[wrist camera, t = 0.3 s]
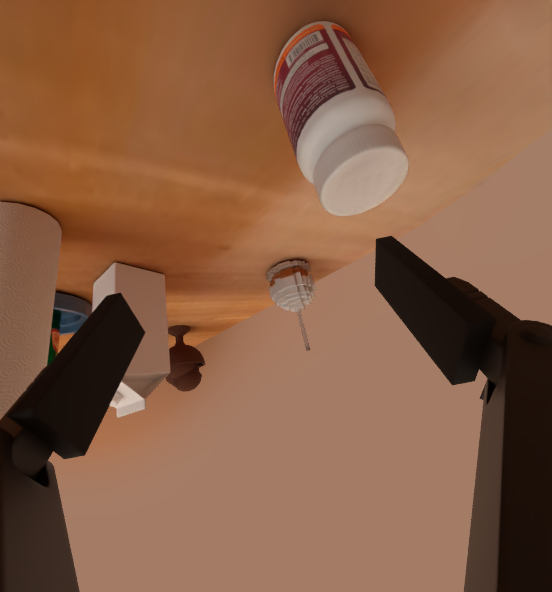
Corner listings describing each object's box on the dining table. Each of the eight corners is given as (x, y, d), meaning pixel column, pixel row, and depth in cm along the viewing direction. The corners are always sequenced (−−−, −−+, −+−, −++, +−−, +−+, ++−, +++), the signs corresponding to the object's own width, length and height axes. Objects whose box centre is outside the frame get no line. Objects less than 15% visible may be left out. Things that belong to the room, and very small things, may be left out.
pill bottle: (267, 114, 22) (300, 225, 17) (279, 10, 16) (332, 138, 12) (335, 116, 23) (381, 219, 19) (369, 21, 17) (445, 138, 13)
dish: (-50, 304, 36) (-55, 323, 35) (36, 278, 35) (33, 298, 34) (45, 326, 49) (44, 341, 48) (111, 308, 48) (111, 323, 46)
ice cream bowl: (156, 322, 58) (159, 393, 53) (206, 320, 64) (214, 384, 58) (152, 337, 67) (154, 399, 61) (196, 334, 72) (202, 391, 67)
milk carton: (165, 273, 40) (173, 404, 34) (141, 291, 44) (144, 412, 37) (114, 260, 35) (112, 413, 28) (93, 282, 39) (85, 422, 32)
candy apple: (273, 283, 52) (290, 358, 46) (260, 266, 45) (279, 353, 39) (311, 271, 51) (333, 347, 45) (304, 252, 44) (330, 340, 38)
